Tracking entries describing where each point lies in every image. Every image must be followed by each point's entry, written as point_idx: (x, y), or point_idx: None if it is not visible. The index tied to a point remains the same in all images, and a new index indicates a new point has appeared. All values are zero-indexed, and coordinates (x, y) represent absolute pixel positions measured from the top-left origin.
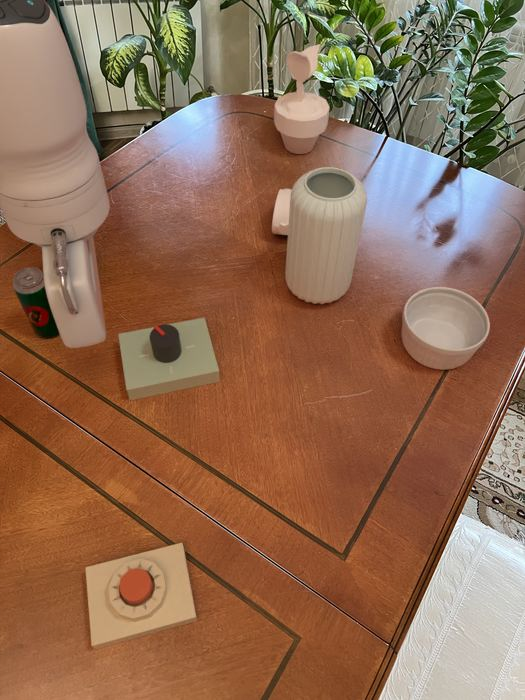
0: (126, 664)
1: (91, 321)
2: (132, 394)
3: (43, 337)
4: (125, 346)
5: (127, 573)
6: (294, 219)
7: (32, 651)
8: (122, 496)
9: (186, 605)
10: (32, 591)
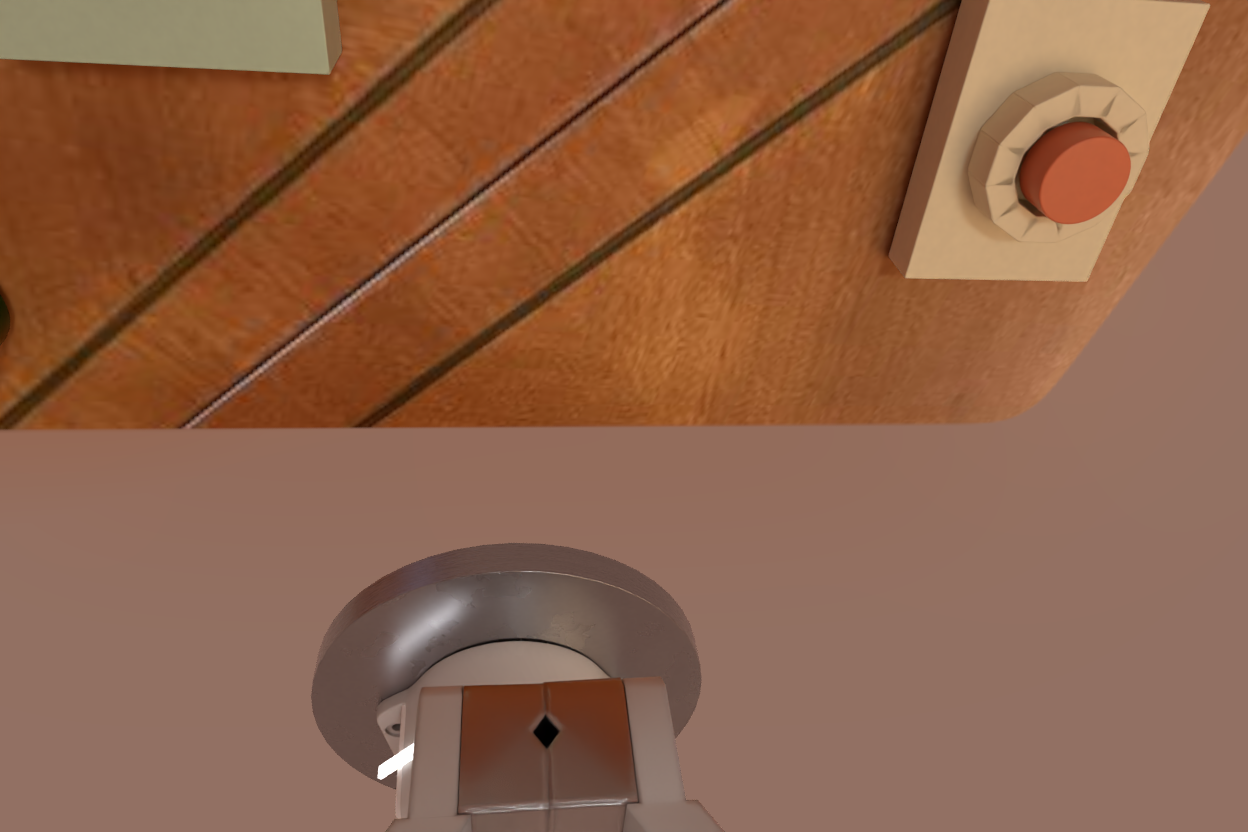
0: (1136, 198)
1: None
2: (334, 44)
3: (9, 327)
4: (74, 37)
5: (1044, 197)
6: None
7: (982, 379)
8: (716, 140)
9: (1166, 25)
10: (862, 376)
